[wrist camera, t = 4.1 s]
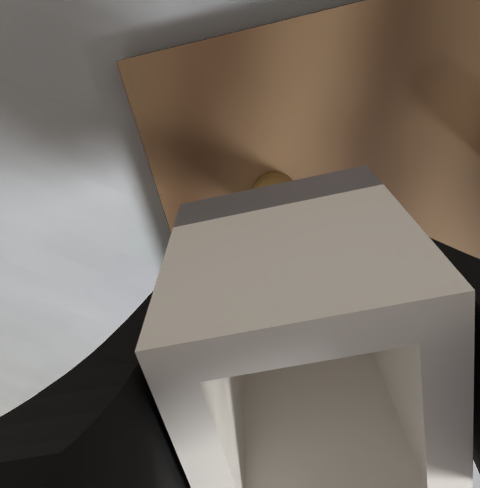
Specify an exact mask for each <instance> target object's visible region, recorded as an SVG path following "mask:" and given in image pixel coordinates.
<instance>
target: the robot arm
mask: <svg viewBox="0 0 480 488" xmlns="http://www.w3.org/2000/svg"><path fill="white" fill-rule="evenodd" d="M429 238H430V237H429ZM430 239H431V240H432V241H433V242H434V243H435V245H436V246H437V247H438V248H439V249H440V250H441V251H442V253H443V254H444V255H445V256H446V257H447V258H448V260H449V261H450V262H451V263H452V264H453V265H454V267H455V268H456V269H457V270H458V271H459V272H460V273H461V275H462V276H463V277H464V278H465V279H466V280H467V282H468V283H469V284H470V285H471V286H472V287H473V288H474V290H475V334H474V410H473V460H474V462H475V464H476V467H477V469H478V471H479V473H480V259H479V258H476V257H474V256H471V255H469V254H466V253H464V252H462V251H459V250H457V249H455V248H453V247H450V246H448V245H446V244H444V243H441V242H439V241H437V240H435V239H432V238H430ZM152 294H153V292H152V293H151V294H150V295H149V296H148V297H147V299H146V300H145V301H144V302H143V303H142V304H141V305H140V306H139V307H138V308H137V309H136V310H135V312H134V313H133V314H132V315H131V316H130V317H129V318H128V319H127V320H126V321H125V322H124V323H123V324H122V325H121V326H120V327H119V328H118V329H117V330H116V331H115V332H114V333H113V334H112V335H111V336H110V337H109V338H108V339H107V340H106V341H105V342H104V343H103V344H102V345H100V346H99V347H98V348H97V349H96V350H95V351H94V352H92V353H91V354H90V355H89V356H88V357H87V358H85V359H84V360H83V361H82V362H80V363H79V364H78V365H77V366H75V367H74V368H73V369H72V370H70V371H69V372H68V373H66V374H65V375H64V376H62V377H61V378H59V379H58V380H57V381H55V382H54V383H52V384H51V385H49V386H48V387H47V388H45V389H44V390H42V391H41V392H39V393H38V394H37V395H35V396H34V397H32V398H31V399H29V400H28V401H26V402H24V403H23V404H21V405H19V406H18V407H16V408H15V409H13V410H11V411H10V412H8V413H6V414H5V415H3V416H1V417H0V488H191V487H190V484H189V482H188V479H187V477H186V475H185V472H184V470H183V467H182V465H181V462H180V460H179V458H178V455H177V453H176V450H175V448H174V446H173V443H172V441H171V438H170V436H169V433H168V431H167V429H166V426H165V424H164V421H163V419H162V417H161V414H160V412H159V409H158V407H157V405H156V402H155V400H154V397H153V395H152V392H151V390H150V388H149V385H148V383H147V380H146V378H145V376H144V373H143V371H142V368H141V366H140V363H139V361H138V359H137V356H136V354H135V349H136V346H137V343H138V339H139V336H140V333H141V330H142V326H143V323H144V320H145V317H146V314H147V310H148V307H149V304H150V301H151V297H152Z"/></svg>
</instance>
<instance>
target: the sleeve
mask: <svg viewBox="0 0 480 488" xmlns="http://www.w3.org/2000/svg"><path fill="white" fill-rule="evenodd" d="M474 334H475V290H474V288H473V287H472V286H471V285H470V284H469V283H468V282H467V280H466V279H465V278H464V277H463V276H462V275H461V273H460V272H459V271H458V270H457V269H456V268H455V267H454V265H453V264H452V263H451V262H450V261H449V260H448V258H447V257H446V256H445V255H444V254H443V253H442V251H441V250H440V249H439V248H438V247H437V246H436V245H435V243H434V242H433V241H432V240H431V239H430V238H429V236H428V235H427V234H426V233H425V232H424V231H423V229H422V228H421V227H420V226H419V225H418V224H417V223H416V221H415V220H414V219H413V218H412V217H411V216H410V214H409V213H408V212H407V211H406V210H405V209H404V207H403V206H402V205H401V204H400V203H399V202H398V201H397V199H396V198H395V197H394V196H393V195H392V194H391V192H390V191H389V190H388V189H387V188H386V187H385V185H384V184H383V183H382V182H381V181H380V180H379V179H378V177H377V176H376V175H375V174H374V173H373V172H372V170H371V169H370V168H369V167H368V166H367V165H364V166H359V167H355V168H350V169H345V170H340V171H336V172H331V173H326V174H321V175H317V176H312V177H307V178H302V179H298V180H293V181H288V182H283V183H279V184H274V185H269V186H265V187H260V188H255V189H250V190H246V191H241V192H236V193H231V194H227V195H222V196H217V197H212V198H208V199H203V200H198V201H193V202H189V203H184V204H180V207H179V210H178V213H177V216H176V220H175V223H174V226H173V229H172V233H171V236H170V239H169V242H168V246H167V249H166V252H165V255H164V258H163V262H162V265H161V268H160V271H159V275H158V278H157V281H156V284H155V288H154V291H153V294H152V297H151V301H150V304H149V307H148V310H147V314H146V317H145V320H144V323H143V326H142V330H141V333H140V336H139V339H138V343H137V346H136V349H135V354H136V356H137V359H138V361H139V363H140V366H141V368H142V371H143V373H144V376H145V378H146V380H147V383H148V385H149V388H150V390H151V392H152V395H153V397H154V400H155V402H156V405H157V407H158V409H159V412H160V414H161V417H162V419H163V421H164V424H165V426H166V429H167V431H168V433H169V436H170V438H171V441H172V443H173V446H174V448H175V450H176V453H177V455H178V458H179V460H180V462H181V465H182V467H183V470H184V472H185V475H186V477H187V479H188V482H189V484H190V487H191V488H472V486H473V410H474Z"/></svg>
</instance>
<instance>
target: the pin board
mask: <svg viewBox="0 0 480 488" xmlns="http://www.w3.org/2000/svg"><path fill="white" fill-rule="evenodd" d="M116 62H117V65H118V68H119V71H120V74H121V78H122V81H123V84H124V87H125V90H126V93H127V96H128V100H129V103H130V106H131V109H132V112H133V115H134V118H135V122H136V125H137V128H138V131H139V134H140V137H141V140H142V144H143V147H144V150H145V153H146V156H147V159H148V162H149V166H150V169H151V172H152V175H153V178H154V181H155V184H156V188H157V191H158V194H159V197H160V200H161V203H162V206H163V210H164V213H165V216H166V219H167V222H168V225H169V228H170V232H171V233H172V229H173V226H174V223H175V220H176V216H177V213H178V210H179V207H180V204H184V203H189V202H193V201H198V200H203V199H208V198H212V197H217V196H222V195H227V194H231V193H236V192H241V191H246V190H250V189H255V188H260V187H265V186H269V185H274V184H279V183H283V182H288V181H293V180H298V179H302V178H307V177H312V176H317V175H321V174H326V173H331V172H336V171H340V170H345V169H350V168H355V167H359V166H364V165H367V166H368V167H369V168H370V169H371V170H372V172H373V173H374V174H375V175H376V176H377V177H378V179H379V180H380V181H381V182H382V183H383V184H384V185H385V187H386V188H387V189H388V190H389V191H390V192H391V194H392V195H393V196H394V197H395V198H396V199H397V201H398V202H399V203H400V204H401V205H402V206H403V207H404V209H405V210H406V211H407V212H408V213H409V214H410V216H411V217H412V218H413V219H414V220H415V221H416V223H417V224H418V225H419V226H420V227H421V228H422V229H423V231H424V232H425V233H426V234H427V235H428V236H429V237H430V238H432V239H435V240H437V241H439V242H441V243H444V244H446V245H448V246H450V247H453V248H455V249H457V250H459V251H462V252H464V253H466V254H469V255H471V256H474V257H476V258H479V259H480V0H363V1H359V2H355V3H351V4H347V5H343V6H339V7H335V8H331V9H327V10H322V11H318V12H314V13H310V14H306V15H302V16H298V17H294V18H290V19H286V20H282V21H277V22H273V23H269V24H265V25H261V26H257V27H253V28H249V29H245V30H241V31H237V32H233V33H228V34H224V35H220V36H216V37H212V38H208V39H204V40H200V41H196V42H192V43H188V44H184V45H179V46H175V47H171V48H167V49H163V50H159V51H155V52H151V53H147V54H143V55H139V56H135V57H130V58H126V59H122V60H119V61H116Z"/></svg>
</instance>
